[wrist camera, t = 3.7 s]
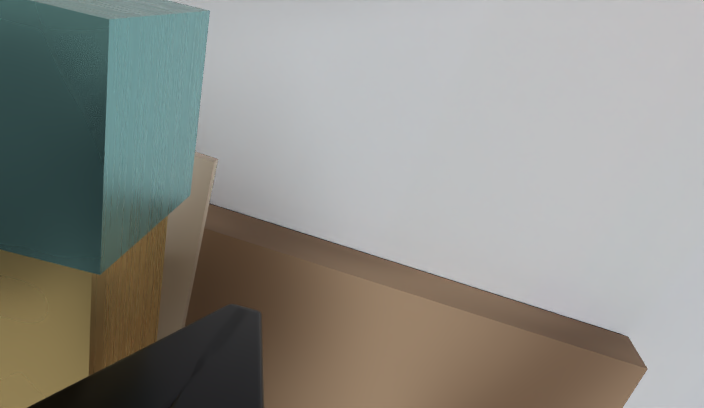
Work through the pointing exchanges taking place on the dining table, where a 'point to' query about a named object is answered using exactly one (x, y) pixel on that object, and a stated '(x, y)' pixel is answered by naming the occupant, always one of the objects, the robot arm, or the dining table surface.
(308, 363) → the base
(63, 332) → the metal scoop
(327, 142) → the dining table surface
